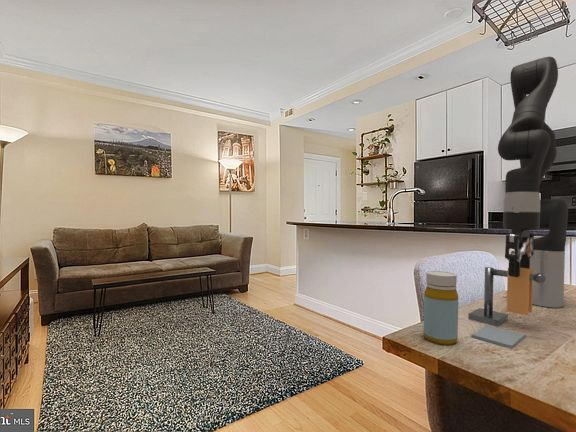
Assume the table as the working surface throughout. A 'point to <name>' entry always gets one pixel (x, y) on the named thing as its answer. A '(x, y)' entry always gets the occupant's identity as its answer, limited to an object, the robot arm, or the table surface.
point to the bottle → (441, 308)
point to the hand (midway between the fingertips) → (519, 274)
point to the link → (520, 292)
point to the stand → (487, 313)
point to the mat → (498, 336)
